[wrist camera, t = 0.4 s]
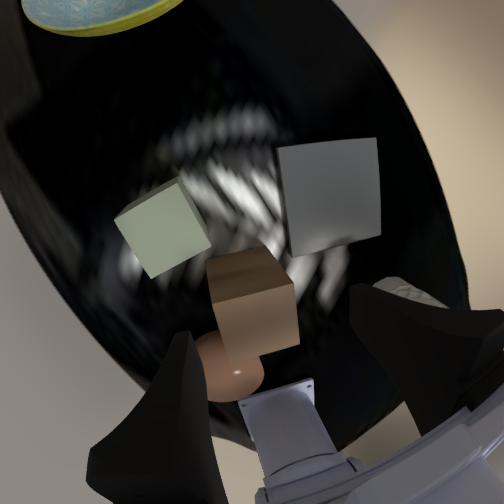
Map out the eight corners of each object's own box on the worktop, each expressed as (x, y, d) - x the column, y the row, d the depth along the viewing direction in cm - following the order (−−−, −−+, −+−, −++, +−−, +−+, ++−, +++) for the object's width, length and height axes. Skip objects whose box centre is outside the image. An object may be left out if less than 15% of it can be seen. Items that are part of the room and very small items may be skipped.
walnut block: (273, 297, 23) (299, 343, 17) (218, 311, 22) (229, 363, 17) (265, 245, 21) (293, 282, 15) (204, 259, 20) (211, 304, 15)
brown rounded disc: (260, 369, 25) (268, 392, 23) (198, 384, 25) (201, 407, 22) (249, 320, 23) (257, 343, 20) (179, 337, 22) (179, 362, 20)
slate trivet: (377, 232, 23) (380, 234, 22) (290, 255, 22) (292, 257, 21) (372, 137, 19) (375, 137, 19) (275, 147, 18) (277, 147, 18)
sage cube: (206, 226, 19) (211, 246, 16) (157, 253, 19) (151, 278, 16) (179, 175, 18) (177, 182, 14) (127, 204, 18) (113, 220, 14)
